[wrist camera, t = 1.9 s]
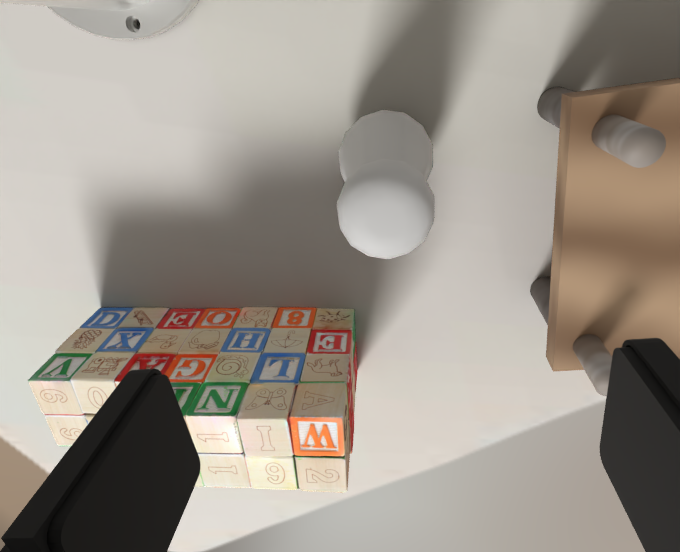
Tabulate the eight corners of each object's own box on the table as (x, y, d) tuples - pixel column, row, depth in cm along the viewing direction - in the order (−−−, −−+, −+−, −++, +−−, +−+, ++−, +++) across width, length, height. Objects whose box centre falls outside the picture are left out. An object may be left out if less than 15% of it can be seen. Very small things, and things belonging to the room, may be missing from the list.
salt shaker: (356, 202, 33) (340, 294, 22) (330, 121, 31) (295, 176, 19) (439, 178, 32) (468, 262, 20) (418, 91, 30) (437, 131, 18)
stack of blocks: (119, 365, 42) (26, 482, 31) (99, 305, 39) (-10, 410, 29) (359, 370, 40) (348, 497, 29) (356, 306, 37) (343, 420, 26)
